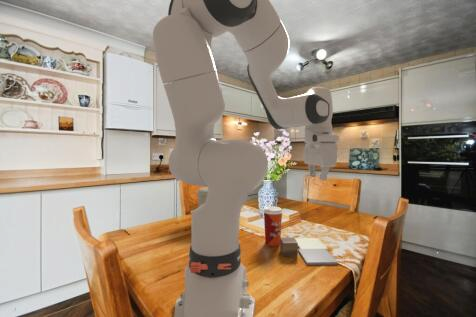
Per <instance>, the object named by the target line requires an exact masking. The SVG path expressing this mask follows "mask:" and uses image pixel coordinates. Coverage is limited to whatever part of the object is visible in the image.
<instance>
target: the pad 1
mask: <svg viewBox="0 0 476 317" xmlns="http://www.w3.org/2000/svg"><path fill="white" fill-rule="evenodd" d="M294 238H295V237H294ZM295 240H296V241H297V243H298V247H299V248H298V249H326V250H328V251H329V248H328V247H327V246H326V245H325V244H324V243H323V242H322V241H321V239H319V237H301V238H300V237H296V238H295Z"/></svg>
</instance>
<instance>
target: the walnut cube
mask: <svg viewBox="0 0 476 317" xmlns="http://www.w3.org/2000/svg"><path fill="white" fill-rule="evenodd" d="M298 249H299V248H298V243H297V241H296V240H295V237H293V236H292V237H280V245H279V251H280V253H281V256H282V258H298V256H299V255H298V254H299V252H298Z"/></svg>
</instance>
